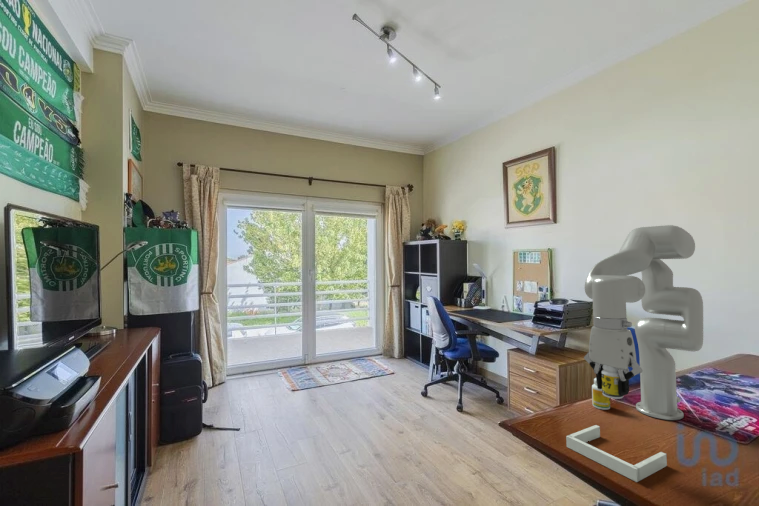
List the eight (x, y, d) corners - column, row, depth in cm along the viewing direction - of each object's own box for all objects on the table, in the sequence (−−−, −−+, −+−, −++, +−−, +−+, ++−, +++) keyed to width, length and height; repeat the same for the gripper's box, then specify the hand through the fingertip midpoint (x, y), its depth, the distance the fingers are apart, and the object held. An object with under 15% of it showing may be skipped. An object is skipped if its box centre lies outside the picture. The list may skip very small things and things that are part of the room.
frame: (596, 434, 105) (595, 424, 105) (666, 465, 89) (666, 453, 89) (566, 446, 99) (566, 436, 99) (636, 482, 83) (636, 469, 83)
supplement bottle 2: (598, 393, 97) (596, 362, 97) (614, 391, 97) (612, 361, 98) (611, 399, 92) (609, 367, 92) (627, 398, 93) (626, 366, 93)
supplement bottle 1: (590, 403, 128) (589, 376, 128) (607, 404, 126) (606, 377, 126) (595, 409, 123) (594, 381, 123) (612, 410, 121) (611, 382, 121)
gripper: (653, 326, 89) (656, 399, 89) (587, 317, 104) (590, 379, 104) (636, 330, 86) (639, 405, 86) (571, 320, 101) (573, 384, 101)
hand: (612, 390), depth 95 cm, fingers closed on supplement bottle 2, 4 cm apart
